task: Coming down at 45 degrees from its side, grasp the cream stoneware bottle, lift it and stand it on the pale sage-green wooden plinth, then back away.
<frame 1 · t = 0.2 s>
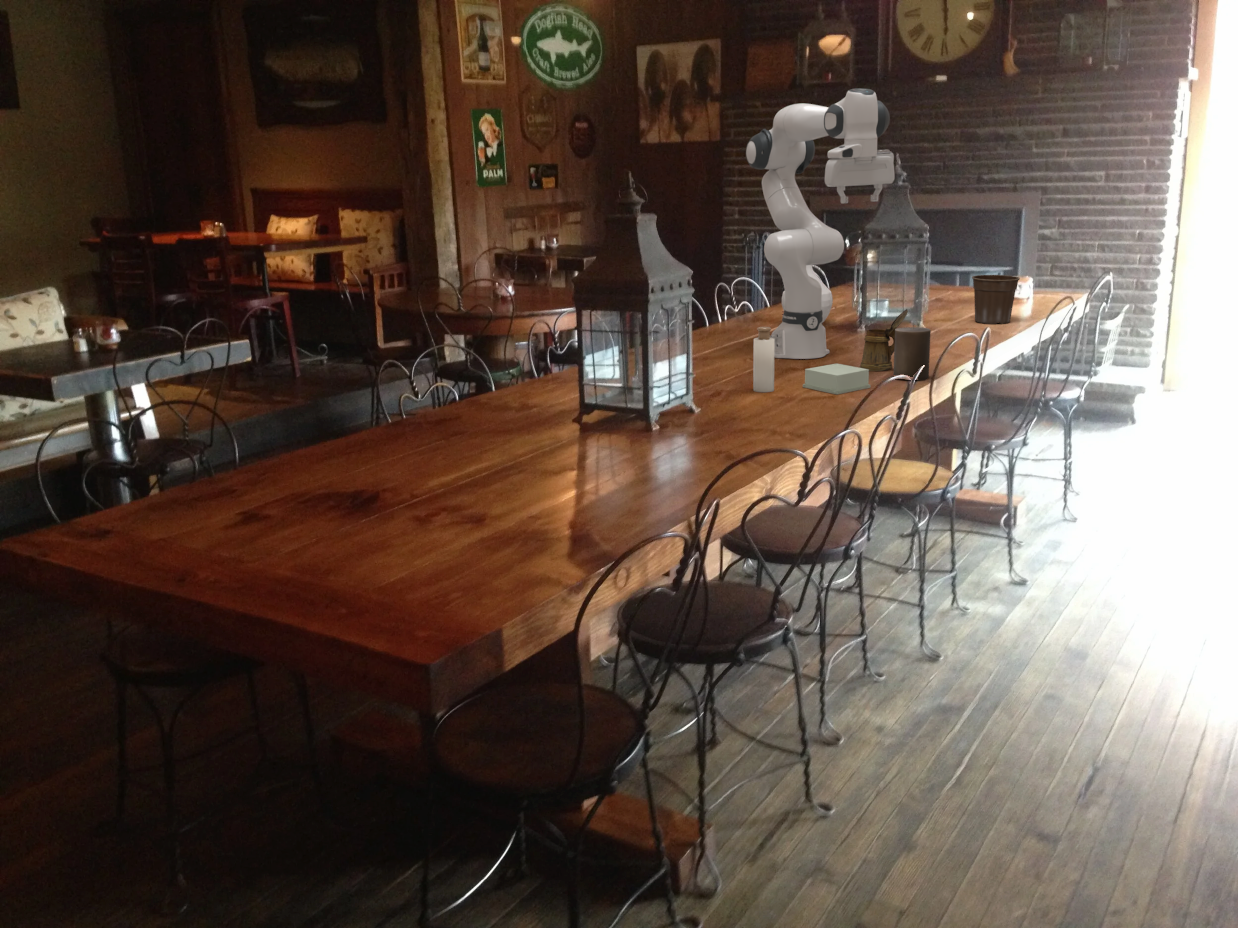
hand: (859, 202, 311), 48 cm above the table, tool pointing down, fingers open, 8 cm apart
plinth: (836, 387, 306), on the table
pillar candle: (910, 378, 316), on the table
wooden mug: (883, 369, 328), on the table
stoneware bottle: (763, 390, 305), on the table
plant pot: (992, 322, 406), on the table
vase: (806, 325, 410), on the table
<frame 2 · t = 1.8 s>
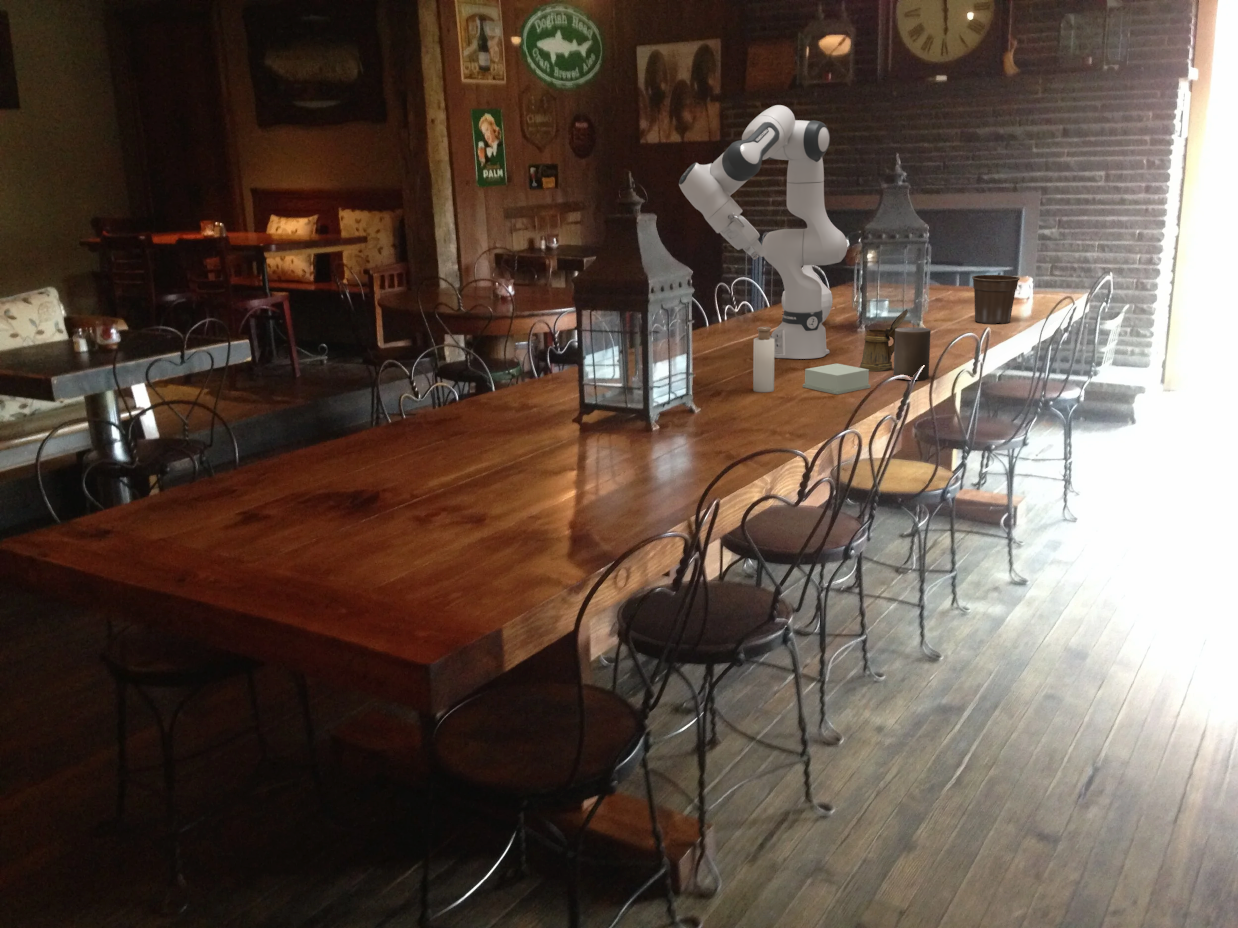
hand: (760, 256, 299), 35 cm above the table, tool tilted 40°, fingers open, 8 cm apart
nothing on the table moved.
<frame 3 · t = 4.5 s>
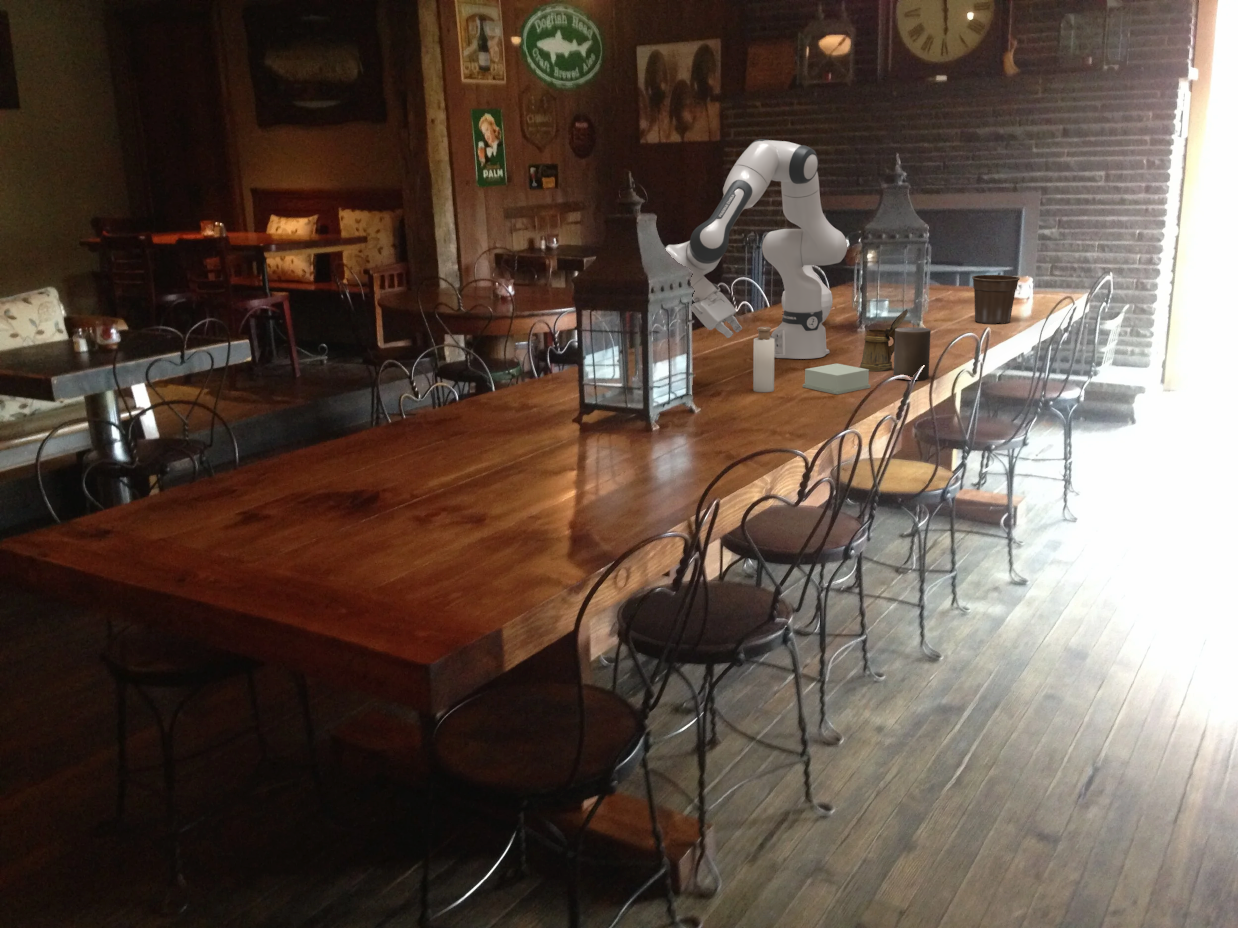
hand: (735, 333, 304), 15 cm above the table, tool tilted 45°, fingers open, 8 cm apart
nothing on the table moved.
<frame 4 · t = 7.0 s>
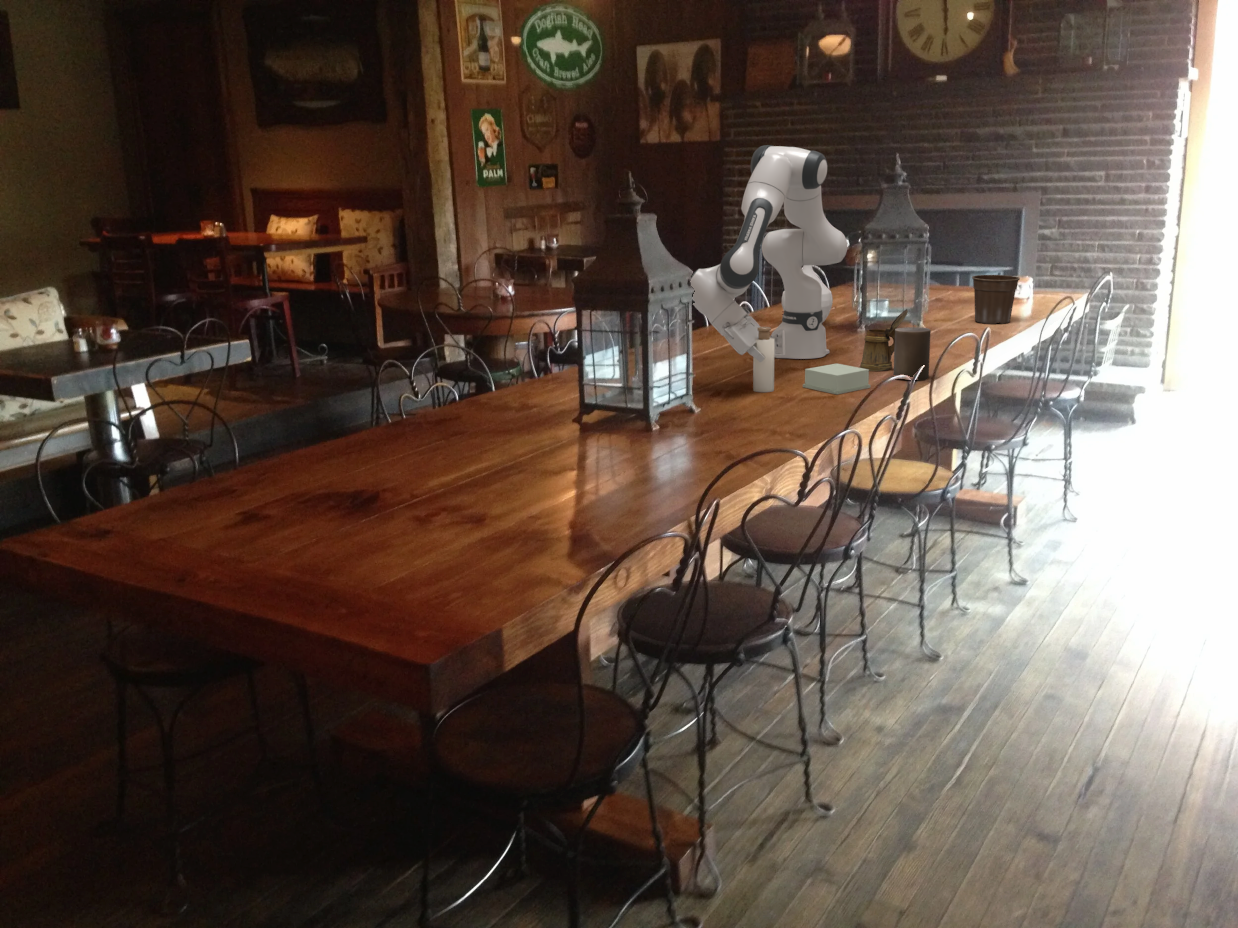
hand: (766, 357, 302), 9 cm above the table, tool tilted 45°, fingers closed on stoneware bottle, 6 cm apart
stoneware bottle: (763, 390, 305), on the table, touching gripper
everything else where it was.
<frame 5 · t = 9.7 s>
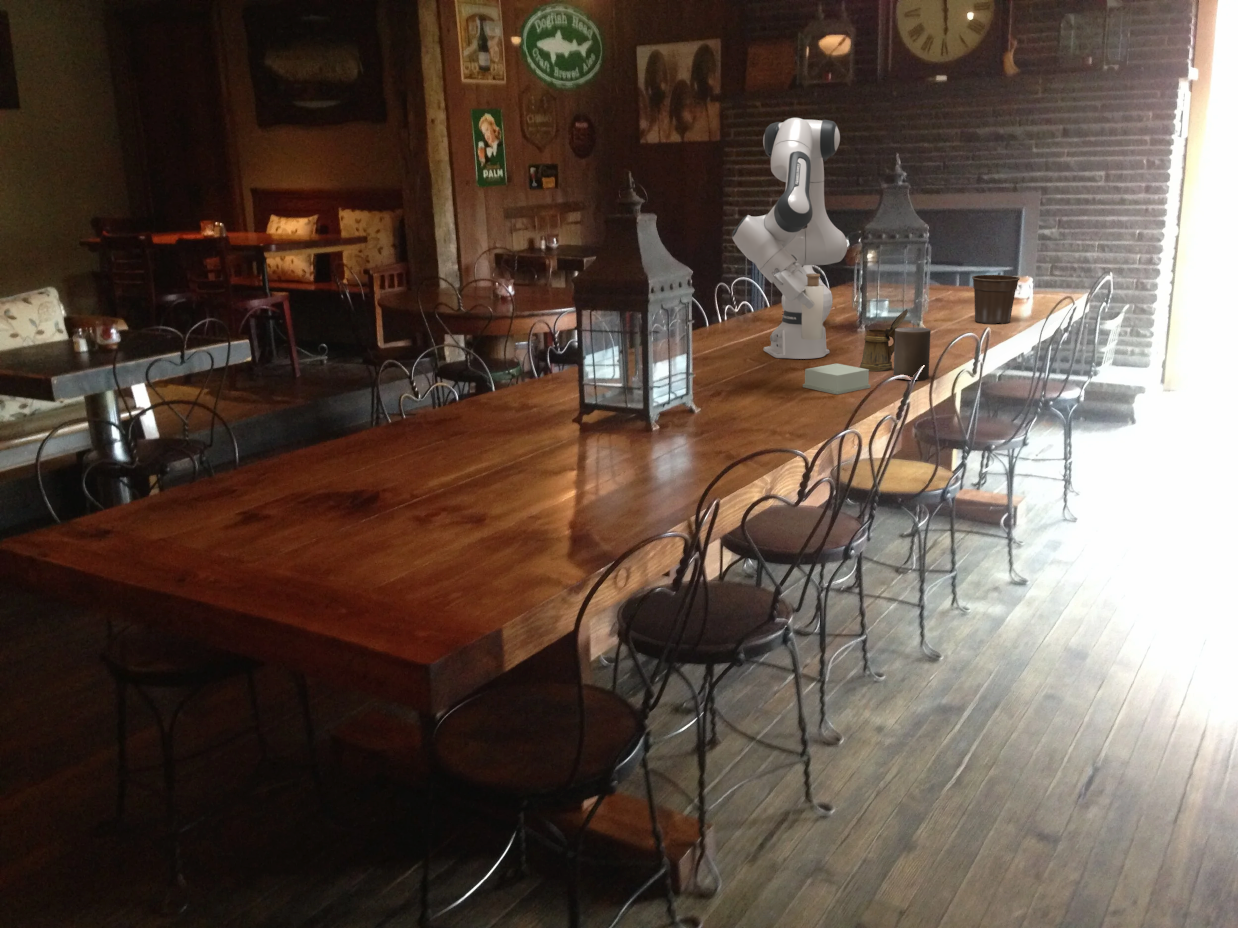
hand: (814, 305, 299), 23 cm above the table, tool tilted 45°, fingers closed on stoneware bottle, 6 cm apart
stoneware bottle: (811, 337, 302), point 14 cm above the table, touching gripper
everything else where it was.
when the fingers open (15 cm above the table, at t = 12.6 s): stoneware bottle drops 1 cm, resting on plinth.
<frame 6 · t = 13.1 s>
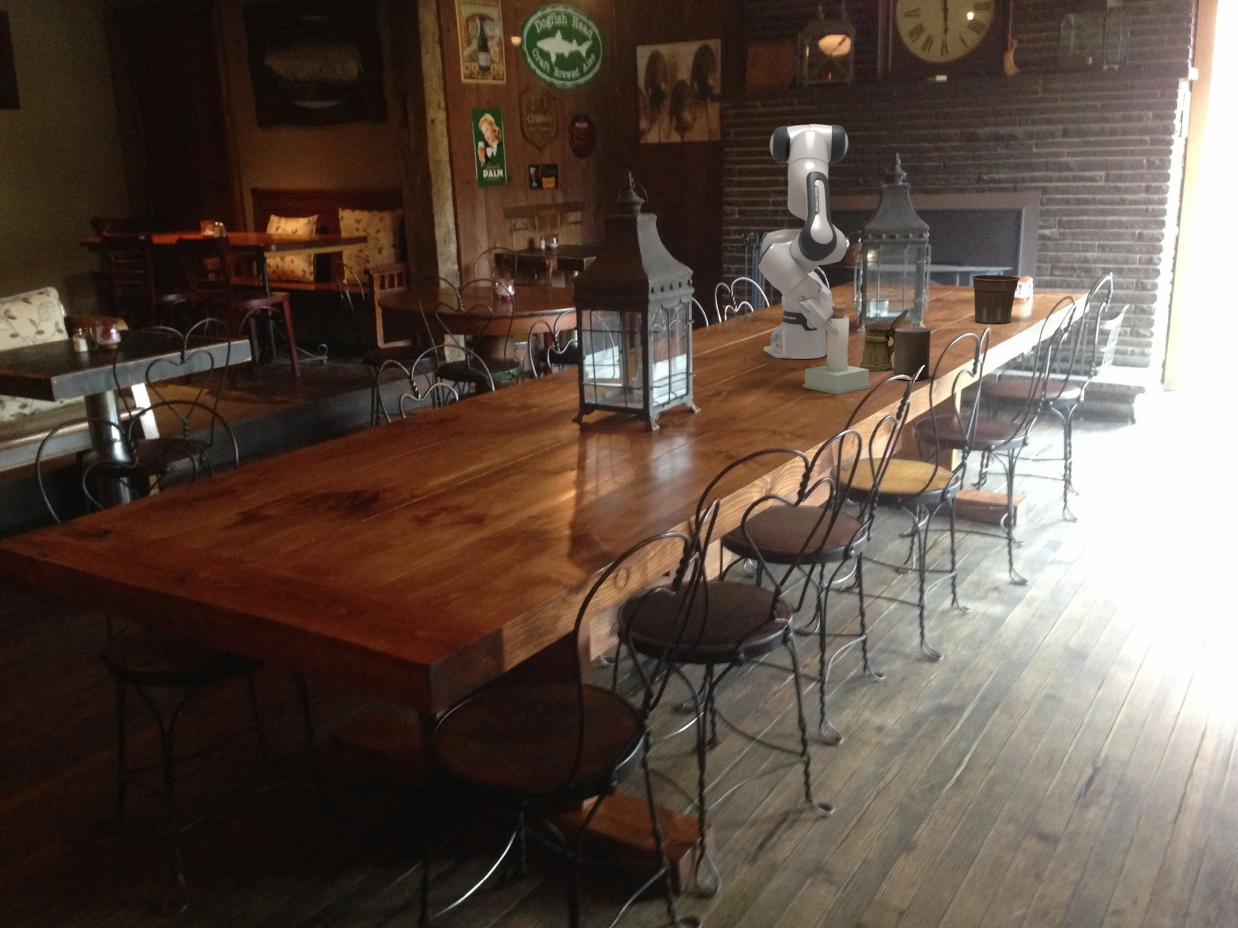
hand: (840, 332, 301), 15 cm above the table, tool tilted 45°, fingers open, 8 cm apart
stoneware bottle: (836, 369, 304), point 5 cm above the table, touching plinth
everything else where it was.
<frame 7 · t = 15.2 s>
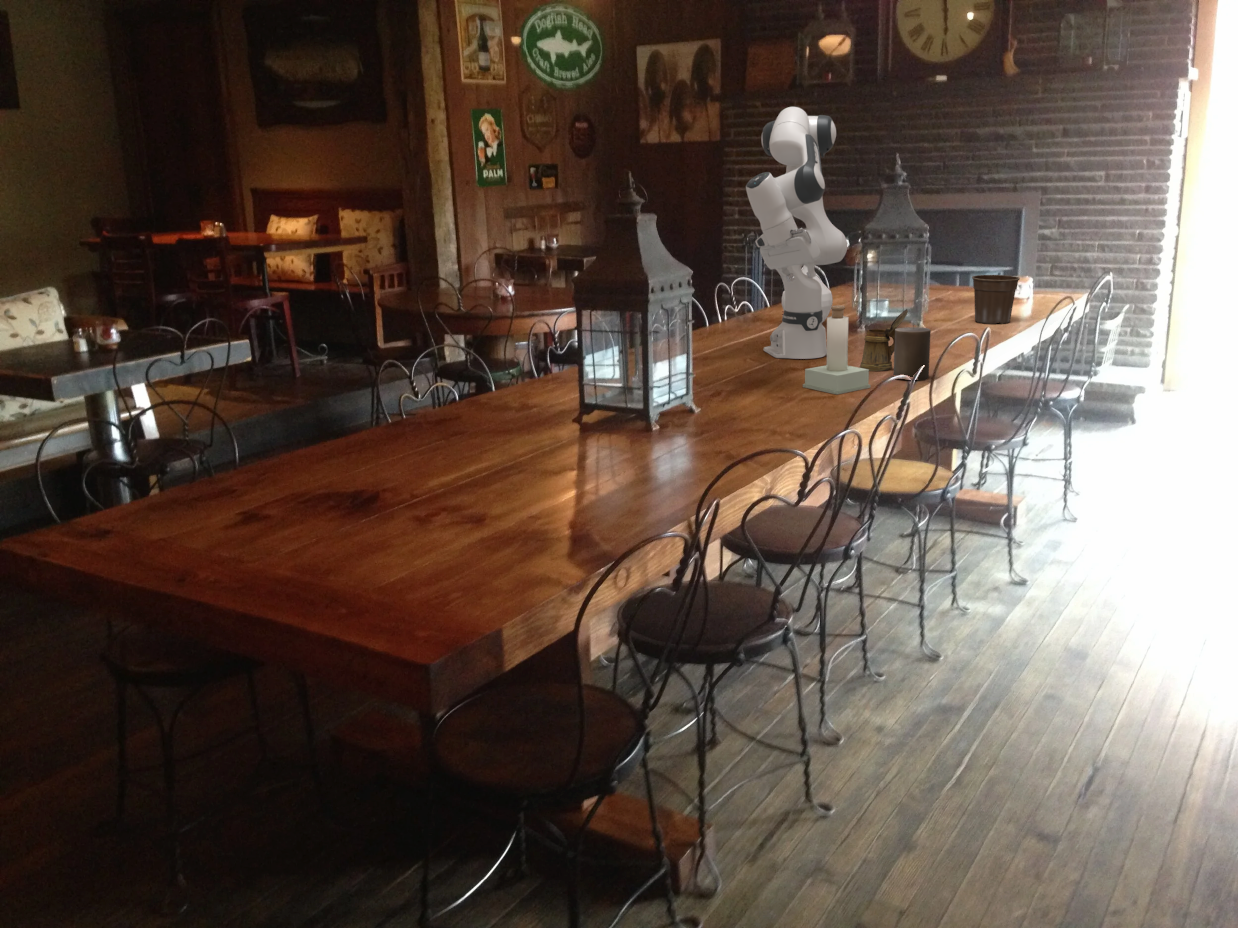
hand: (801, 279, 305), 29 cm above the table, tool tilted 25°, fingers open, 8 cm apart
nothing on the table moved.
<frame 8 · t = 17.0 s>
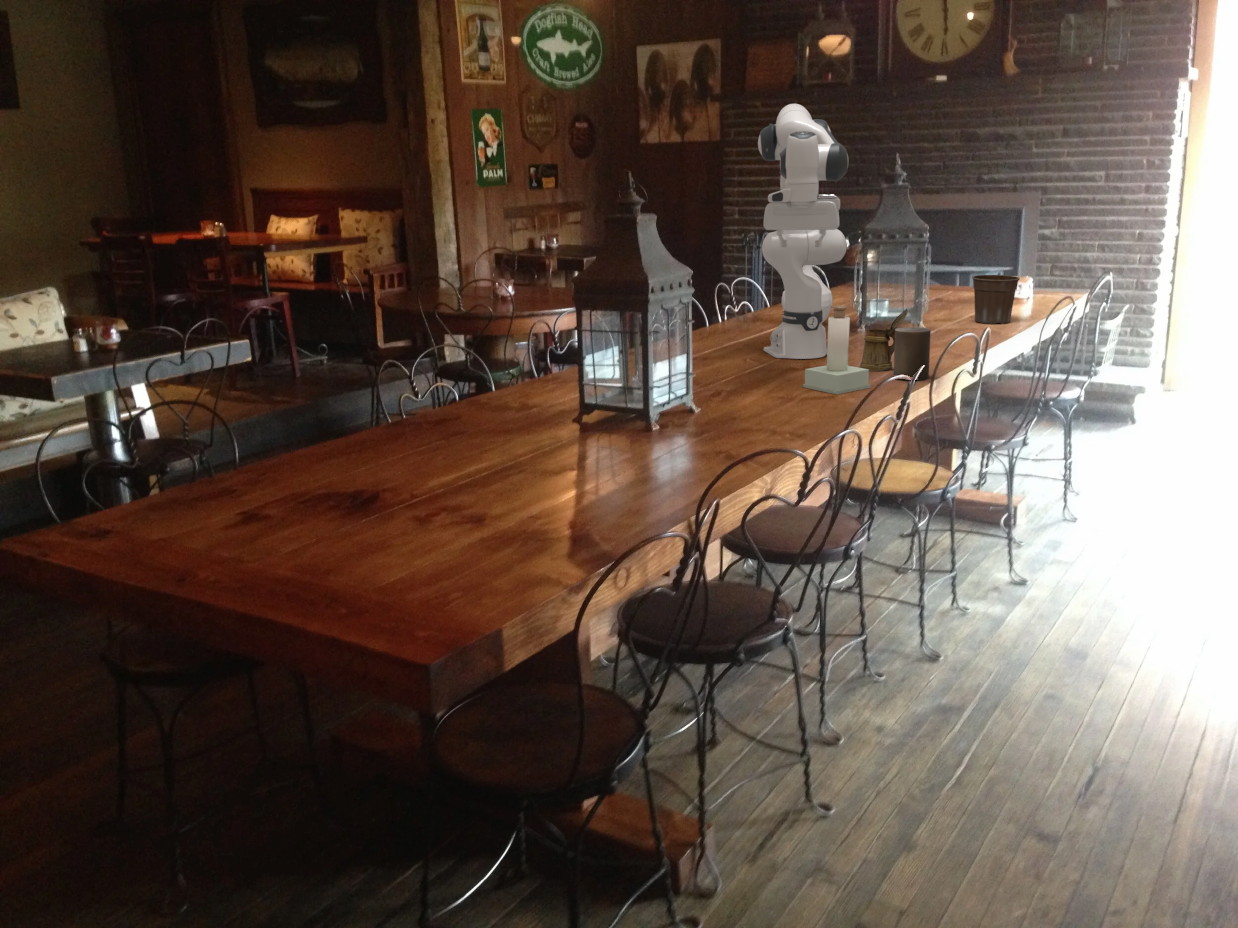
hand: (800, 247, 305), 37 cm above the table, tool pointing down, fingers open, 8 cm apart
nothing on the table moved.
at the end: stoneware bottle inside the target area on the plinth (0.1 cm from its centre), point 5.0 cm above the plinth's base; stoneware bottle tilted 1°; the gripper is holding nothing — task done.
